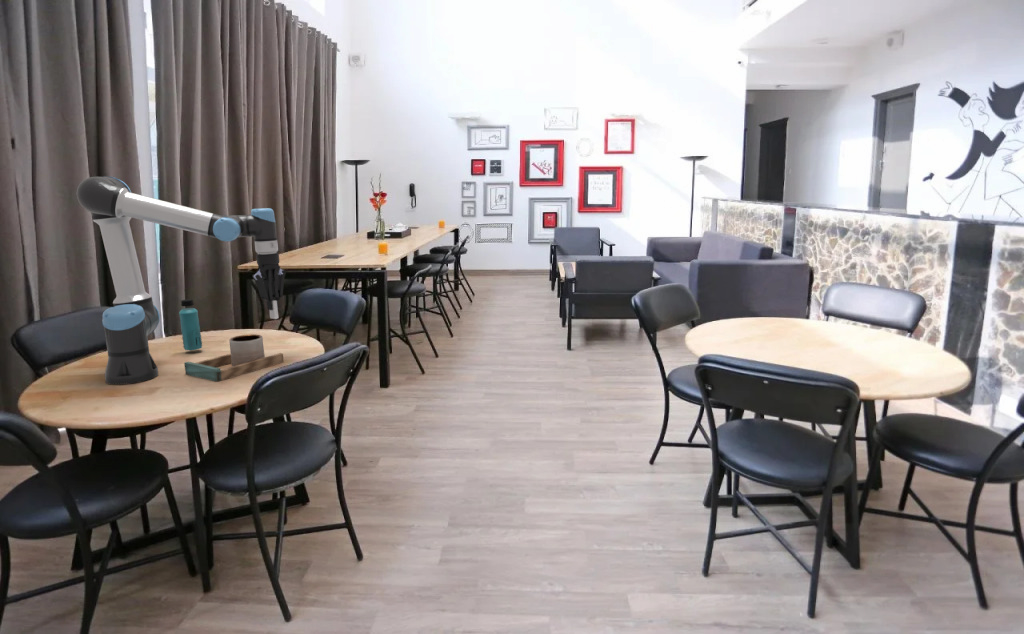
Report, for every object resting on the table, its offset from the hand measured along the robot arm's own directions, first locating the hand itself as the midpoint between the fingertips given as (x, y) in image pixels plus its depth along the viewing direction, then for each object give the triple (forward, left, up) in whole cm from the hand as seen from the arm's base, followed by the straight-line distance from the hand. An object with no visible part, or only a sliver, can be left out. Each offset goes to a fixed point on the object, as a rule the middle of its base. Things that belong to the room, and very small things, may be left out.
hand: (274, 318), depth 235 cm
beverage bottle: (-11, +34, -14) cm, 38 cm away
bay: (-17, 0, -14) cm, 22 cm away
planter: (-12, 0, -14) cm, 19 cm away
